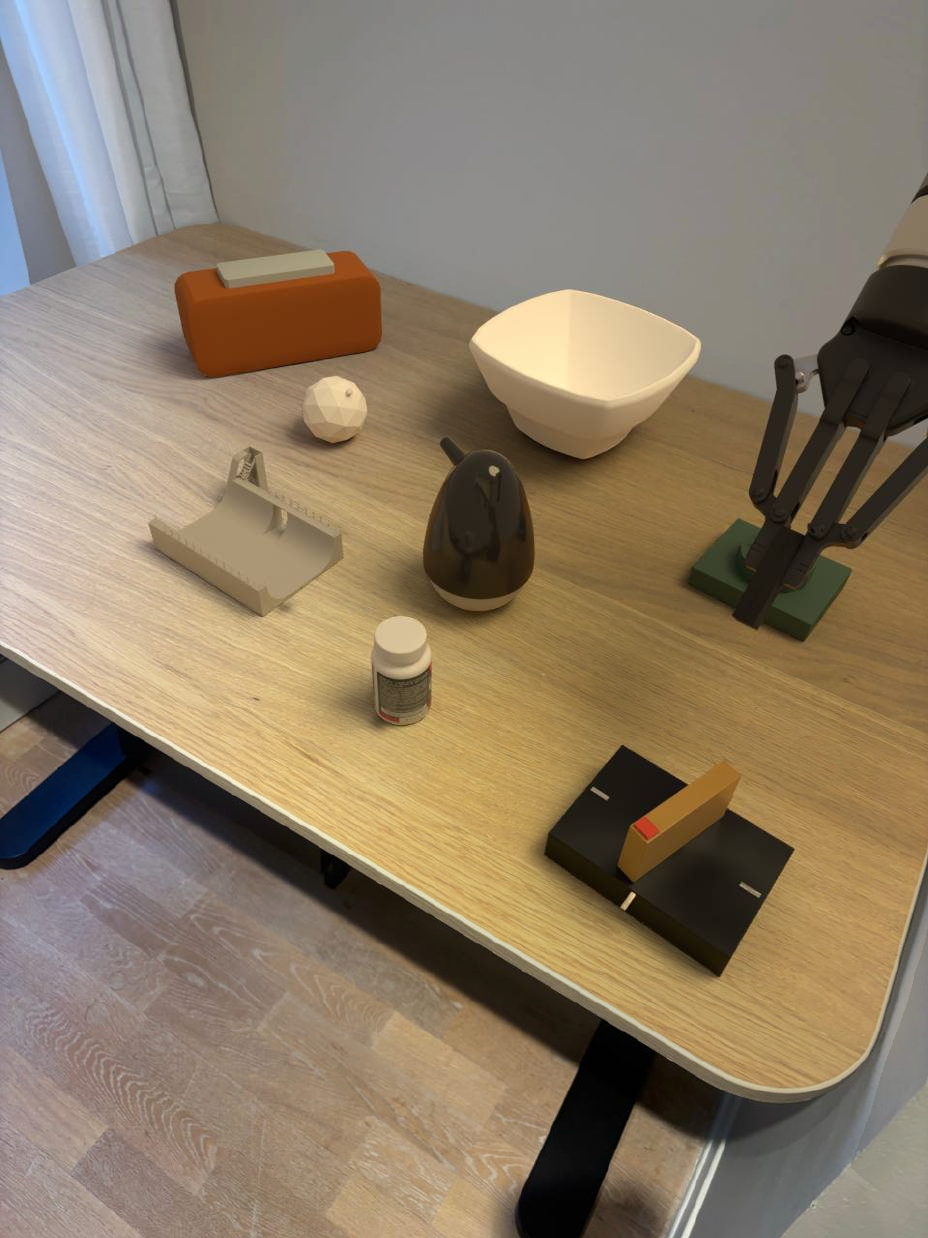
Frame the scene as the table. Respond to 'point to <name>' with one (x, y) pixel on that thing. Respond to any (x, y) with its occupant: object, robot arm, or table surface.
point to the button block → (791, 609)
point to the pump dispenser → (479, 531)
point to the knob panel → (669, 862)
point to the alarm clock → (278, 311)
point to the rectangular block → (677, 820)
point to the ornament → (334, 409)
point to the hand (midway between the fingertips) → (744, 622)
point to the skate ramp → (252, 541)
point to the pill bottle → (401, 670)
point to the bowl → (581, 367)
